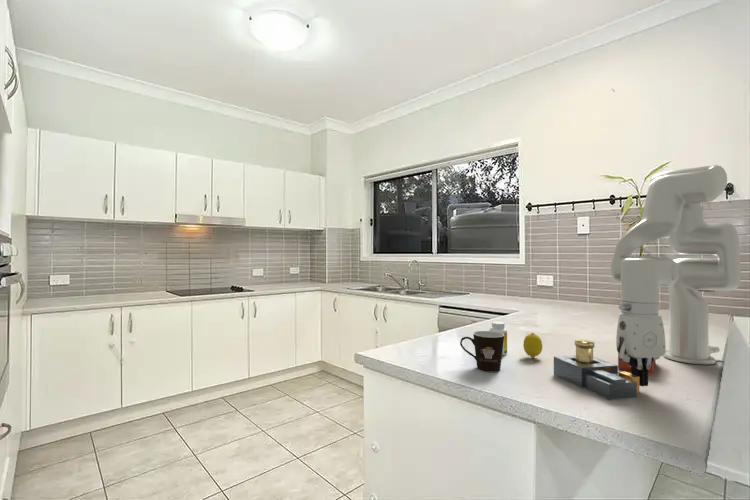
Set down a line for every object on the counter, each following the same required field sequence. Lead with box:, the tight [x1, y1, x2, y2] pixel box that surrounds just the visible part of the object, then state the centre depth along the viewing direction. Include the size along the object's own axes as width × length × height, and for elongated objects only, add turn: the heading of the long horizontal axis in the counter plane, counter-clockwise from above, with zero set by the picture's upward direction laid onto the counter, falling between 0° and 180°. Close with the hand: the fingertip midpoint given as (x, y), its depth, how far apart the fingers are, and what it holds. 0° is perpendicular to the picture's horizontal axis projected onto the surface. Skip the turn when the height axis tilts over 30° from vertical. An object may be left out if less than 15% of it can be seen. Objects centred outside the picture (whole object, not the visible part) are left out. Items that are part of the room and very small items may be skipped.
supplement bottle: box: [489, 321, 508, 356], centre depth 126 cm, size 6×6×10 cm
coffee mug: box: [459, 330, 504, 373], centre depth 111 cm, size 12×9×10 cm
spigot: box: [574, 339, 595, 364], centre depth 101 cm, size 5×5×10 cm
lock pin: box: [602, 370, 640, 394], centre depth 91 cm, size 8×4×4 cm, turn 102°
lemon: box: [522, 332, 543, 359], centre depth 121 cm, size 6×6×8 cm
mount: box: [553, 354, 638, 401], centre depth 97 cm, size 10×18×5 cm, turn 12°
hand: (639, 384), depth 93 cm, fingers closed
